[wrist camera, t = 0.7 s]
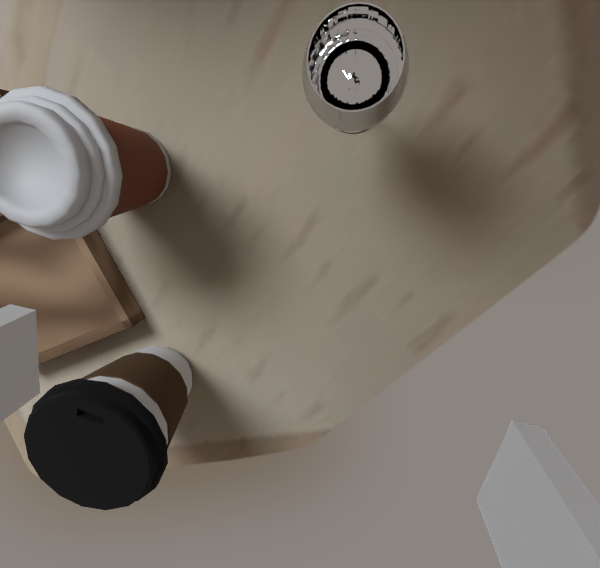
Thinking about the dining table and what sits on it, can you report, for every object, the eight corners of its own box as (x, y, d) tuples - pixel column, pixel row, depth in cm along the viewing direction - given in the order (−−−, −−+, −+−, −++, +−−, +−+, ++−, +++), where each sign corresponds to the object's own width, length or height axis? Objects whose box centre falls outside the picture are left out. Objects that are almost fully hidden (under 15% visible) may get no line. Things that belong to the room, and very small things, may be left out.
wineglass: (405, 79, 28) (441, 19, 17) (369, 154, 30) (381, 144, 19) (335, 47, 28) (325, -36, 17) (304, 123, 30) (276, 94, 19)
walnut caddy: (-97, 167, 36) (-125, 167, 34) (20, 93, 32) (-3, 88, 30) (31, 363, 41) (14, 373, 38) (145, 317, 37) (132, 326, 35)
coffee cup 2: (119, 309, 37) (17, 371, 26) (224, 341, 37) (168, 418, 25) (109, 400, 41) (15, 490, 29) (205, 430, 40) (148, 533, 29)
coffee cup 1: (207, 177, 32) (129, 180, 21) (137, 240, 35) (33, 274, 23) (134, 86, 31) (9, 38, 20) (67, 159, 34) (-79, 153, 22)
